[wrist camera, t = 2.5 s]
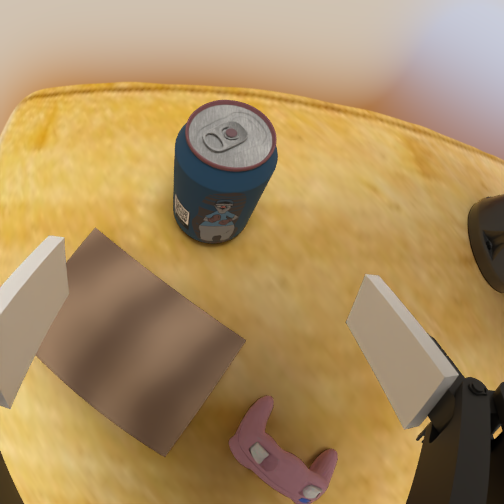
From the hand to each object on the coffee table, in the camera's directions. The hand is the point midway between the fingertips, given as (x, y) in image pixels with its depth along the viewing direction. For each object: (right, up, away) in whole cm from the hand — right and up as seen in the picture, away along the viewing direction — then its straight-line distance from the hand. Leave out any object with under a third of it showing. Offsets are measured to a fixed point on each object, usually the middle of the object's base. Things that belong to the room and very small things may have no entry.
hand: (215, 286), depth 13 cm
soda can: (-2, +5, +17) cm, 18 cm away
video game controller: (+4, -16, +11) cm, 20 cm away
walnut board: (-9, -6, +11) cm, 16 cm away
